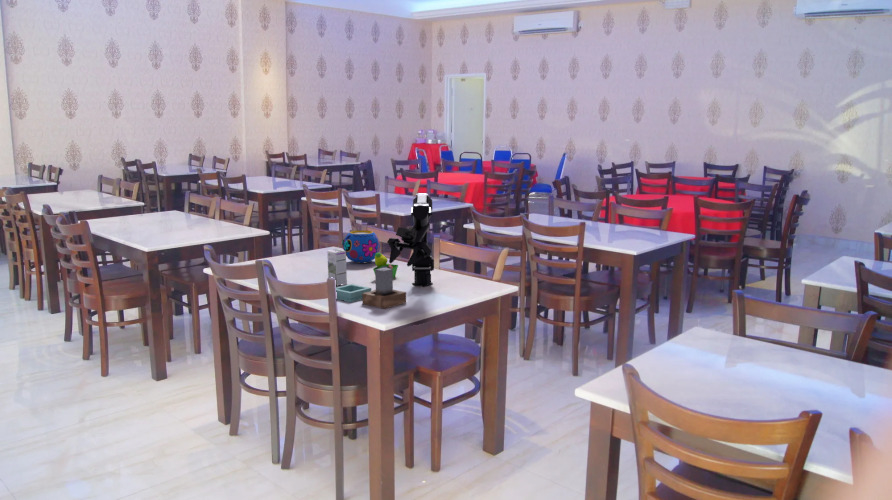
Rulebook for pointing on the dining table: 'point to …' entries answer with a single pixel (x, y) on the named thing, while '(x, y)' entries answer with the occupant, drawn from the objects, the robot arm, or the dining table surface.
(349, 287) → the cradle
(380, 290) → the square axle
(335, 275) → the syrup box
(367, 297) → the bore block
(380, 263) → the fruit basket
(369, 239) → the ceramic pot
